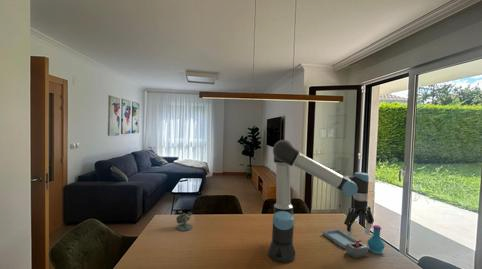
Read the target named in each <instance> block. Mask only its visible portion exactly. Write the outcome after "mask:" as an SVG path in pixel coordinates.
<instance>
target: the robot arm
mask: <svg viewBox="0 0 482 269" xmlns="http://www.w3.org/2000/svg"><path fill="white" fill-rule="evenodd" d="M272 153H273V163H274V164H275V168H276V169H275V170H276V171H275V172H276V173H275V174H276V178H275V180H276V182H275V185H276V186H275V187H276V188H275V189H276V192H275V193H276V197H275V198H276V199H275V200H276V203H274V204H273V217H272V233H271V234H272V235H271V242H270V244H269V248H268V251H267V252H268V253H267V255H268V258H270V259H271V260H272V261H274V262H276V263H277V262H278V263H284V264H287V263H288V264H289V263H291V262H293V261H295V259H296V250H295V247H294V242H293V241H294V228H295V217H294V206H293V204H292V203H291V167H293V166H295V167H297V169H300V170H302V171H304V172H306V173H307V174H309V175H311V176H313V177H315V178H317V179H319V180H320V181H322V182H324V183H325V184H328V185H330V186H332V187H333V188H335V189H337V190H338V191H340V192H342V193H343V194H345V195H346V196H349V197H350V196H351V197H353V200H352V205H353V208H352V207H349V210H348V213H347V215H346V218H345V220H344V225H345V226H346V231H347V233H346V234H347V236H348V237H350V238H353V224H354V223H355V221H356V219H357V218H359V217H361V216H362V217H363V218H364V220H365V225H364V226H365V228H364V229H365V230H364V232H365V234H366V235H369V236H370V235H371V228H372V227H371V226H372V225H373V224H374V223H375V220H374V216H373V214H372V211H371V209H372V208H371V207H370V206H368V203H369V202H368V198H369V197H368V196H369V185H370V184H369V183H370V182H369V178H370V177H369V174H368V173H367V172H360V171H357V172H354V175H345V174H340V173H338V172H336V171H334V170H333V169H330V168H329V167H326V166H325V165H323V164H321V163H320V162H317V161H315V160H314V159H313V158H310V157H308V156H306V155H304V154H303V153H301V150H299V149H297V148H296V147H294V146H293V144H292V143H291V142H290V141H288V140H286V139H280V140H278V141H277V142H275V144H274V145H273V148H272Z"/></svg>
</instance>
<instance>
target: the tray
mask: <svg viewBox="0 0 482 269" xmlns="http://www.w3.org/2000/svg"><path fill="white" fill-rule="evenodd" d="M322 236H324V237H325V238H327V239H329V240H330V241H332V242H333V243H334V244H336V245H338V246H339V247H341V248H342V249H344V250H346V247H347V244H349V243H356V242H355V240H357V239H355V237H352V238H350V237H348V236H347V233H345V232H343V231H342V230H340V229H338V228H337V229H329V230H328V229H327V230H323V231H322Z"/></svg>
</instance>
